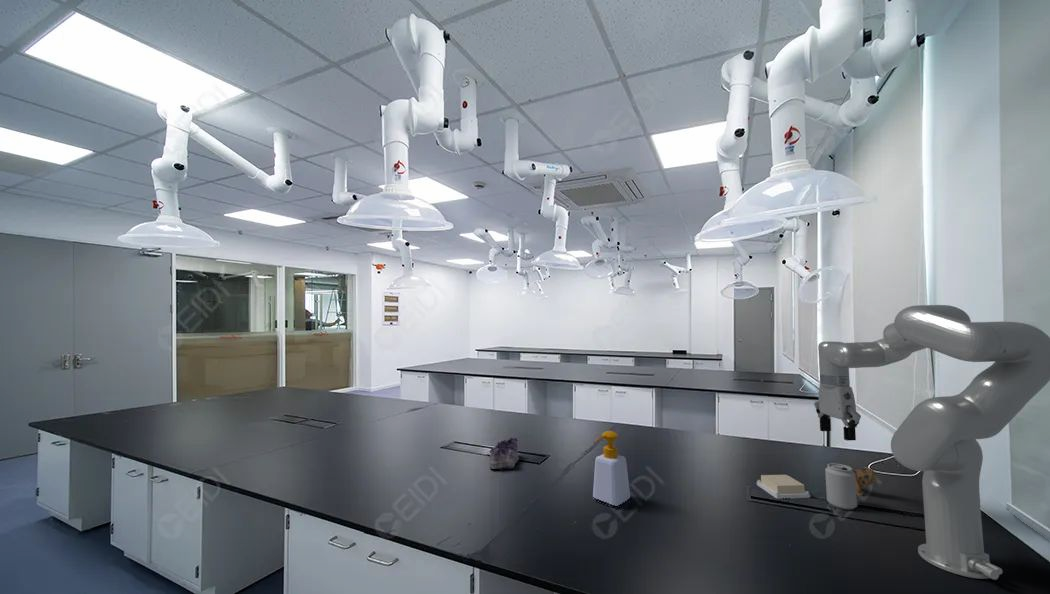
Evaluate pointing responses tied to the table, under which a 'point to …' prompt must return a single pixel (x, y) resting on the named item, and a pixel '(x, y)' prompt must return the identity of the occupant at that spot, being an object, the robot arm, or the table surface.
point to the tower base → (782, 486)
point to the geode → (504, 454)
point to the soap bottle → (611, 474)
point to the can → (841, 486)
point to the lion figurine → (864, 479)
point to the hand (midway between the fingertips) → (837, 435)
